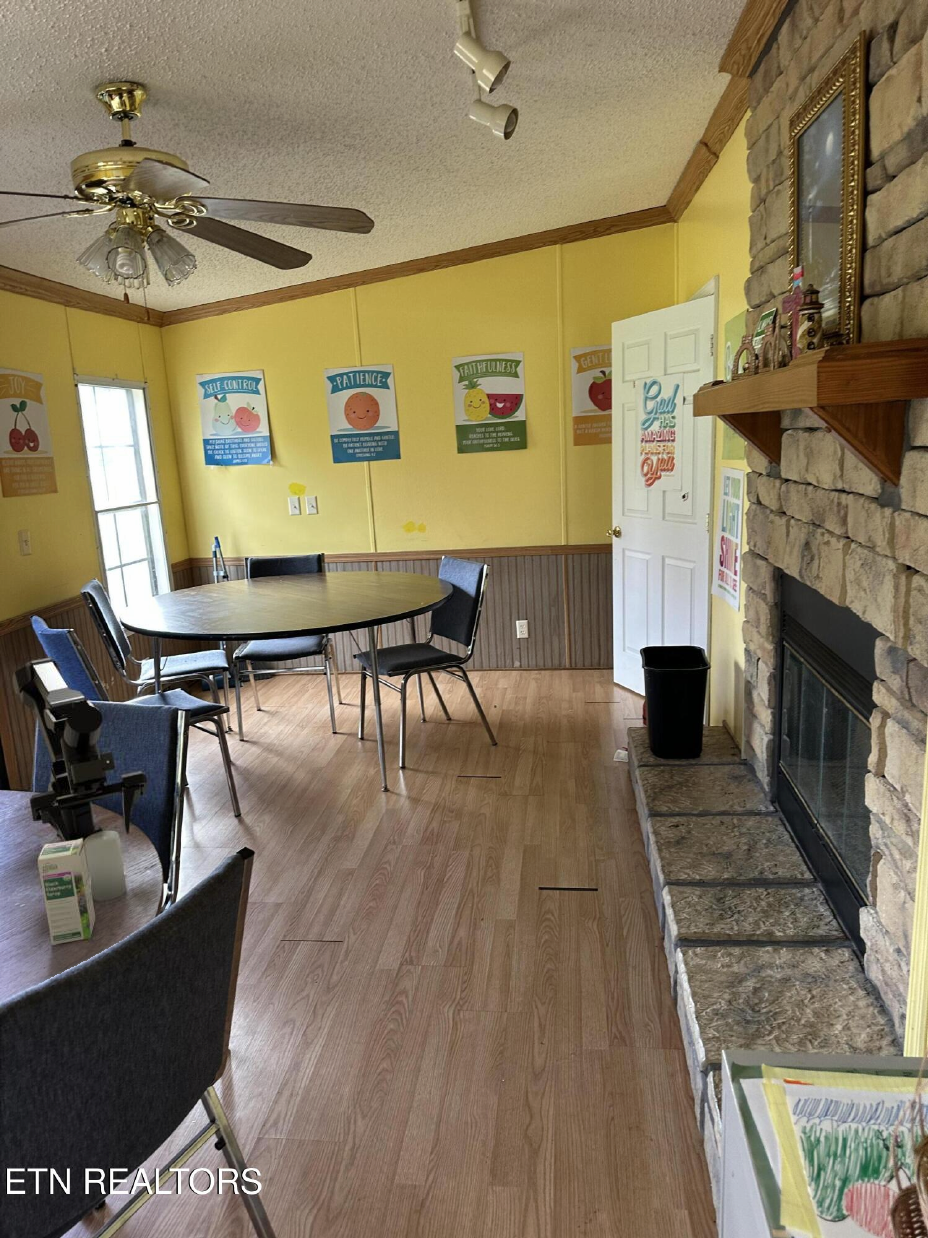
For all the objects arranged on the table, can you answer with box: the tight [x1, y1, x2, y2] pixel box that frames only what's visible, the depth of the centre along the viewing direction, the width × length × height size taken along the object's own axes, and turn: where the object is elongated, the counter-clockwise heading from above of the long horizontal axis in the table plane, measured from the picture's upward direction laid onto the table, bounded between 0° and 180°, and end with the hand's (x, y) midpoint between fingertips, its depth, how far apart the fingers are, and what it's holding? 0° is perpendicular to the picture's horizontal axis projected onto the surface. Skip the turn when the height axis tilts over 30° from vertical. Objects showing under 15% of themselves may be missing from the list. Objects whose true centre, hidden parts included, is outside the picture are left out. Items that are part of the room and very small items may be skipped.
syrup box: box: [37, 837, 96, 946], centre depth 130 cm, size 6×6×14 cm
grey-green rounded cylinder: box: [83, 830, 128, 902], centre depth 142 cm, size 5×5×10 cm
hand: (99, 840), depth 145 cm, fingers open, 9 cm apart
